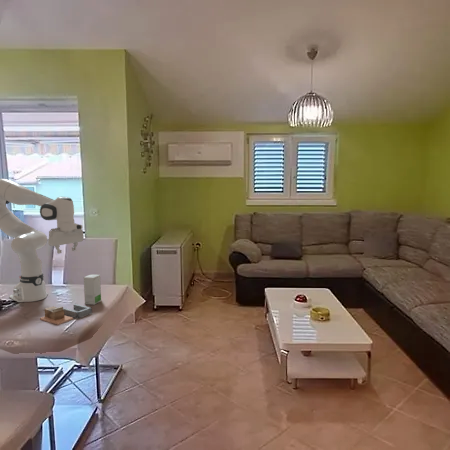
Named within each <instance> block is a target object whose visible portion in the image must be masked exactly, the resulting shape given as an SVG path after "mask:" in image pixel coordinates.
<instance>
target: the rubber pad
mask: <svg viewBox="0 0 450 450" xmlns="http://www.w3.org/2000/svg"><path fill="white" fill-rule="evenodd" d="M39 320H40V321H43V320H44V322H46V323H50V324H54V325H57V326H58V325H61V324H64V323H67V322H69V321H73V320H74V317H71V316H67V315H65V318H62V319H59V320H56V321H55V320H53V319H50V318H48V317H45V315H43V316H42V317H39Z"/></svg>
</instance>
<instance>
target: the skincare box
mask: <svg viewBox="0 0 450 450" xmlns="http://www.w3.org/2000/svg"><path fill="white" fill-rule="evenodd" d="M101 285H102V284H101V274H88V275H86V276H84V277H83V292H84V305H90V306H91V305H96V304H99V303H100V302H102V289H101V288H102V286H101Z"/></svg>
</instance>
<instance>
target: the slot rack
mask: <svg viewBox="0 0 450 450" xmlns="http://www.w3.org/2000/svg"><path fill="white" fill-rule="evenodd" d="M63 310H64V315H65V316H69V317H72V318H73V319H79V318H83V317H86V316H88V315H91V314H93V312H92V307H91V306H86V305H82V304H78V303H74V304H73V309H71V308H67V307H63Z"/></svg>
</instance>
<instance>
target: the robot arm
mask: <svg viewBox="0 0 450 450" xmlns="http://www.w3.org/2000/svg"><path fill="white" fill-rule="evenodd" d="M8 204H14V205H16V206H18V205H19V206H24V205H25V206H26V205H27V206H29V205H34V206H39V207H40V209H39V215H40V217H41V218H42V219H43V220H45V221H55V220H56V227H55V228H51V229H50V230H49V231H48V236H47V234H46V233H44V232H43V231H39V230H38V229H35V228H34V227H32V226H30V225H29V224H28V223H25V222H24V221H22V220H21V219H20V218H19V217H17V216H16V215H15V213H13V212H12V211H11V210H10V209H9V208H8V207H7V205H8ZM74 206H75V205H74V201H73V199H72V198H71V197H69V196H58V197H56V198H55V199H53V198H50V197H48V196H46V195H43V194H41V193H38V192H35V191H34V190H32V189H29V188H28V187H25V186H23V185H21V184H20V183H17V182H15V181H13V180H10V179H6V178H0V230H1V231H2V232H3V233H4V234H5V235H6V236H8V237H11V238H13V239H12V240H11V243H10V246H11V249H12V251H13V252H14V253H15V254H16V255H17V257H18V260H19V263H20V272H21V275H19V276H18V277H19V282H18V283H17V284H16V285H15V286H14V287H13V290H12V291H13V293H12V294H10V295H9V296H8V298H10V299H11V300H13V301H15V302H17V303H27V302H29V303H30V302H37V301H41V300H45V299H46V298H47V297H48V295H49V293H48V292H47V287H46V282H45V281H44V273H43V264H42V263H43V262H42V259H40V258H39V257H38V254H37V250H40V249H43V247H44V246H46V244H47V243H48V245H49V246H50V247H54V248H55V250H56V253H57V254H62V252H63V250H62V249H60V248H61V247H60V246H63V245H69V244H73V246H72V247H71V251H72V252H73V251H74V252H75V251H77V247H78V244H79V243H81V242H83V241H84V231H83V225H82V224H78V223H75V219H74V215H75V207H74Z"/></svg>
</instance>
